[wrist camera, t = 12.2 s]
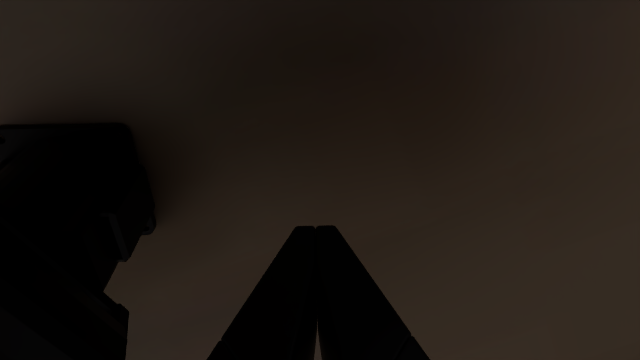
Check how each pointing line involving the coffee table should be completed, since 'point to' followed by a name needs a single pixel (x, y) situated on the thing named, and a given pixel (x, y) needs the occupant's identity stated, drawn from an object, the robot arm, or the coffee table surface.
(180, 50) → the coffee table surface
